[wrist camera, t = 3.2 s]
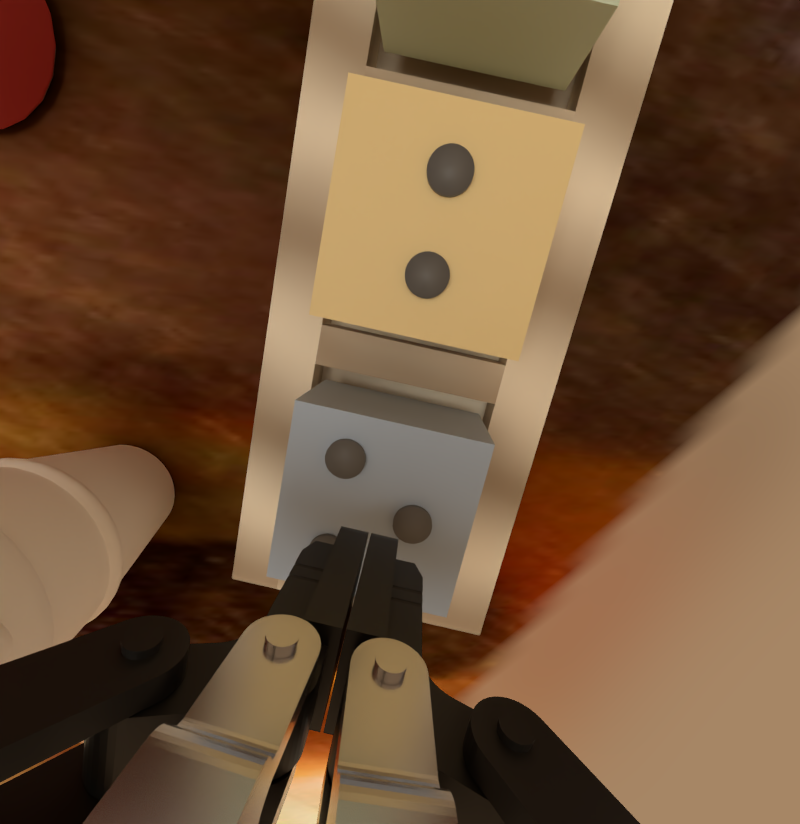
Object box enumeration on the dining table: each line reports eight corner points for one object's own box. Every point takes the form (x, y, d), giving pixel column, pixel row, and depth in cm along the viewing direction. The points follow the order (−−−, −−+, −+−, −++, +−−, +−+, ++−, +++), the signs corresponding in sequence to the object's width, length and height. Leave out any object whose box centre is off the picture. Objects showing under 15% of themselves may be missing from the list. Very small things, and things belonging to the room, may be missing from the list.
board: (374, -268, 14) (365, -363, 12) (712, -197, 14) (758, -280, 12) (250, 553, 21) (232, 578, 19) (474, 604, 21) (479, 635, 19)
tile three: (325, 379, 17) (293, 401, 13) (478, 413, 17) (495, 447, 12) (300, 519, 18) (264, 580, 14) (442, 551, 18) (446, 622, 14)
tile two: (369, 135, 15) (347, 68, 11) (542, 174, 15) (588, 120, 11) (337, 314, 16) (307, 314, 12) (496, 349, 16) (519, 362, 12)
